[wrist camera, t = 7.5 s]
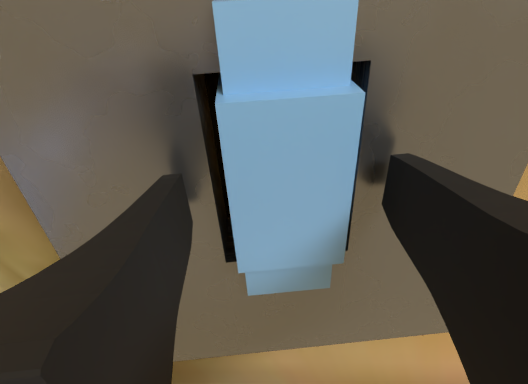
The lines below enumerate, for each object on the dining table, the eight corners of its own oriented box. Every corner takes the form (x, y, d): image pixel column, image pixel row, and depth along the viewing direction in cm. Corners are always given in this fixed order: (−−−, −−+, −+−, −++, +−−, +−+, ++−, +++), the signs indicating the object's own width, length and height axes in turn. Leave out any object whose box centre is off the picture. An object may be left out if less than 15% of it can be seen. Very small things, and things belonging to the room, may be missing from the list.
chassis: (423, 288, 20) (449, 332, 18) (137, 317, 20) (124, 366, 17) (619, -291, 8) (792, -408, 6) (-128, -256, 7) (-308, -369, 5)
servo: (316, 231, 17) (338, 300, 14) (241, 238, 17) (243, 309, 13) (329, -13, 11) (378, -7, 7) (212, -6, 11) (200, 4, 7)
